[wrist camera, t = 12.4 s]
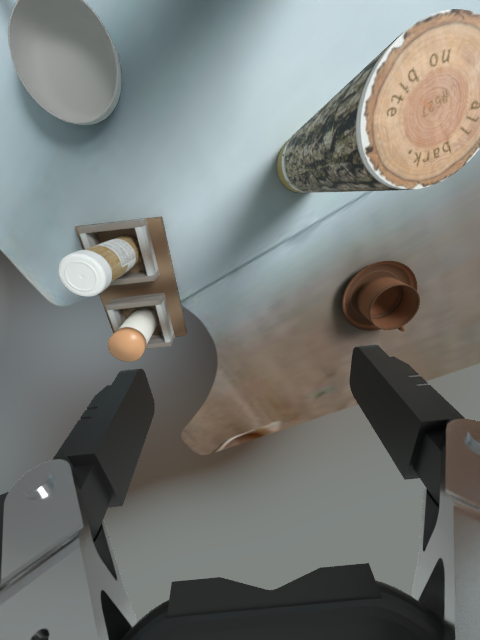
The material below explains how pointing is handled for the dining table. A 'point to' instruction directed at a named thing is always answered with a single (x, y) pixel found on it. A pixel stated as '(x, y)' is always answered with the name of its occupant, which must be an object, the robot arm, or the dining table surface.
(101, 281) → the sprinkles bottle
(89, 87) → the small pan
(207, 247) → the dining table surface
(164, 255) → the board
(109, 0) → the dining table surface
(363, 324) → the cup and saucer
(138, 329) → the white lotion bottle
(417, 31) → the paper tube
